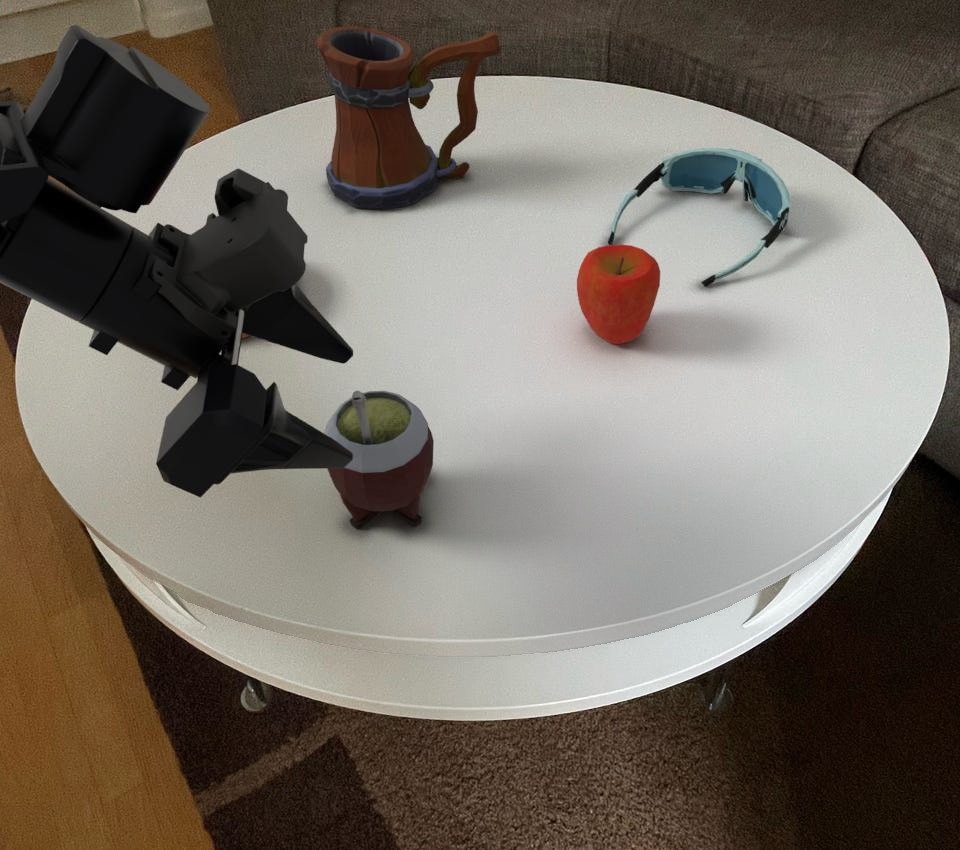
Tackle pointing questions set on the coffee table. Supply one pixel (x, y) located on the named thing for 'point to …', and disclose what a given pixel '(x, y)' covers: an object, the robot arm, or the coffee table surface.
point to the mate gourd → (381, 456)
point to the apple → (618, 291)
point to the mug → (392, 115)
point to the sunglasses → (721, 188)
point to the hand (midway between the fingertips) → (349, 406)
